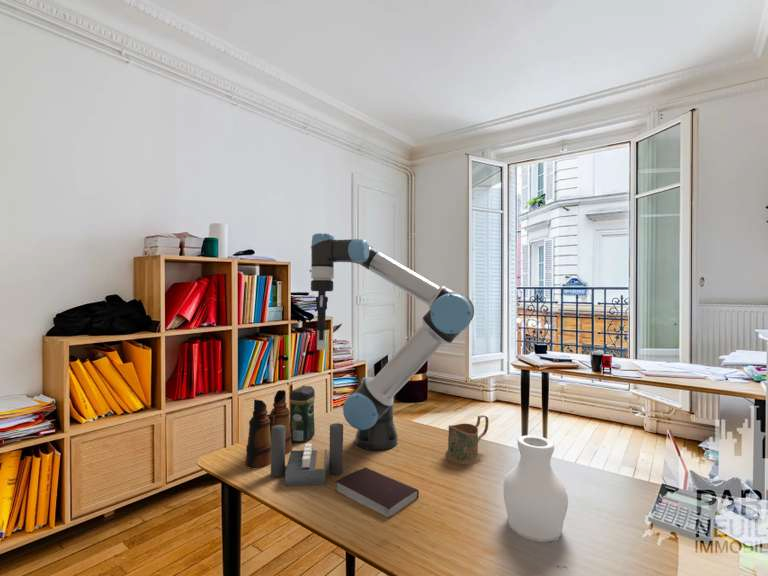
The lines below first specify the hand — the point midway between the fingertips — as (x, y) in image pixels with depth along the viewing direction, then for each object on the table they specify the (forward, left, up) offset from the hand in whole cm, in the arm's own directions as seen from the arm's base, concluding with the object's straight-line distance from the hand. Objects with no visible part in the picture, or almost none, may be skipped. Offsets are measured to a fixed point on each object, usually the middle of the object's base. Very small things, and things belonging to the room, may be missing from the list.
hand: (321, 349), depth 133 cm
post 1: (+12, +16, -34) cm, 40 cm away
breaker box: (+3, +16, -34) cm, 38 cm away
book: (-16, +30, -35) cm, 49 cm away
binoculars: (+16, +3, -35) cm, 38 cm away
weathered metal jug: (-50, +7, -35) cm, 61 cm away
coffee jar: (+7, -12, -35) cm, 37 cm away
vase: (-52, +47, -35) cm, 78 cm away
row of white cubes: (+3, +16, -30) cm, 34 cm away
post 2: (-5, +16, -34) cm, 38 cm away
